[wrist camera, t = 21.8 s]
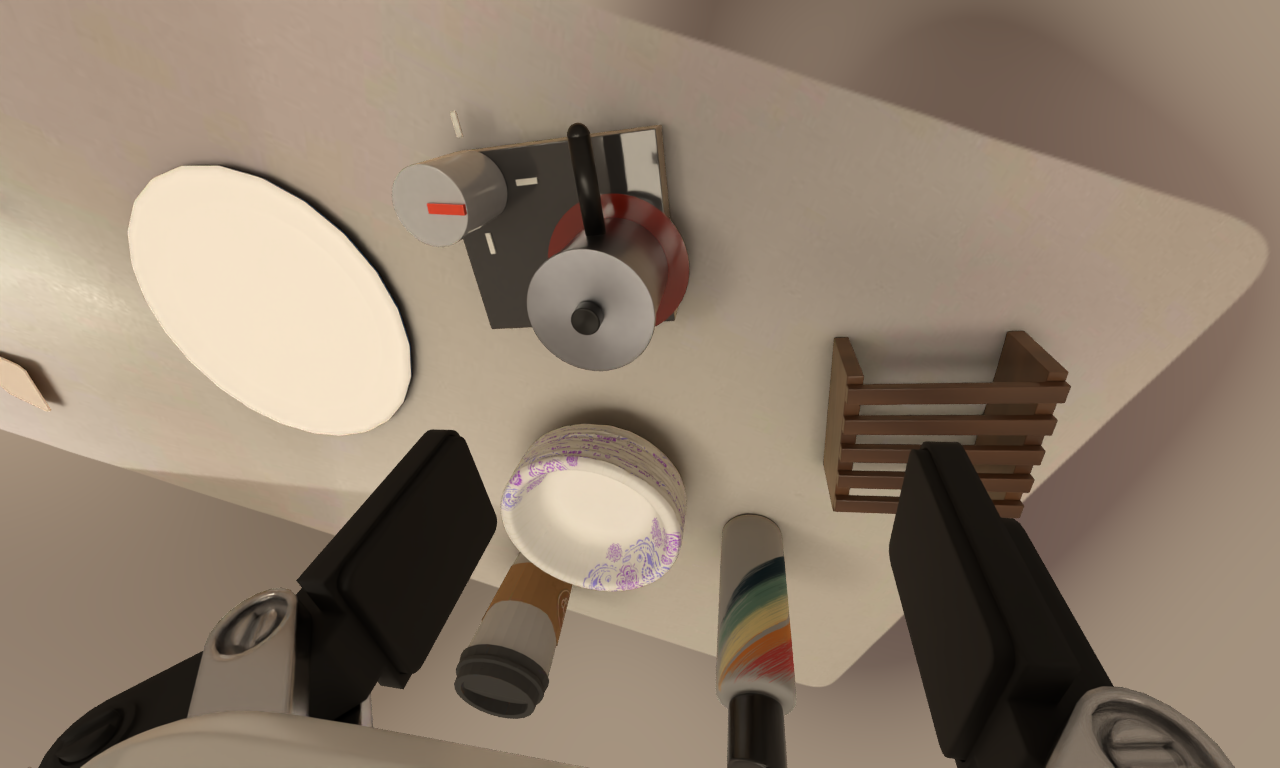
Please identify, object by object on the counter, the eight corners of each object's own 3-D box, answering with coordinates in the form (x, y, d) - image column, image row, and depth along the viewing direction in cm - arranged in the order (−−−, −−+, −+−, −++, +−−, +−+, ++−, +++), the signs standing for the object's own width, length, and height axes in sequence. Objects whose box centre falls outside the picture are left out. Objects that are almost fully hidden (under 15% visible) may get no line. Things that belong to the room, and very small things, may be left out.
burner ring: (533, 201, 31) (532, 201, 31) (683, 185, 29) (682, 185, 29) (564, 335, 36) (564, 336, 36) (694, 330, 34) (694, 331, 34)
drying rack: (833, 337, 35) (848, 381, 30) (1024, 330, 33) (1075, 377, 28) (823, 463, 41) (834, 517, 36) (982, 466, 39) (1017, 524, 34)
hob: (413, 117, 32) (389, 121, 30) (657, 80, 29) (650, 81, 26) (478, 316, 40) (463, 331, 37) (678, 306, 36) (674, 322, 34)
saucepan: (576, 321, 35) (537, 381, 28) (534, 125, 29) (470, 142, 22) (675, 316, 34) (659, 379, 27) (655, 108, 27) (626, 121, 20)
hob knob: (450, 220, 33) (400, 246, 28) (435, 148, 30) (378, 163, 26) (512, 223, 32) (472, 251, 27) (502, 150, 30) (456, 166, 25)
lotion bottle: (768, 559, 49) (782, 810, 32) (713, 542, 49) (700, 784, 32) (791, 523, 46) (820, 781, 29) (733, 505, 46) (729, 752, 29)
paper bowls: (561, 373, 41) (527, 431, 35) (720, 449, 43) (716, 519, 36) (513, 484, 50) (478, 548, 43) (647, 545, 51) (633, 615, 44)
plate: (135, 330, 47) (121, 336, 46) (146, 83, 34) (128, 84, 33) (371, 468, 52) (363, 476, 51) (460, 299, 39) (453, 305, 38)
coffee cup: (587, 584, 56) (543, 729, 44) (518, 571, 57) (456, 709, 45) (586, 536, 52) (537, 683, 40) (511, 523, 53) (440, 662, 40)
